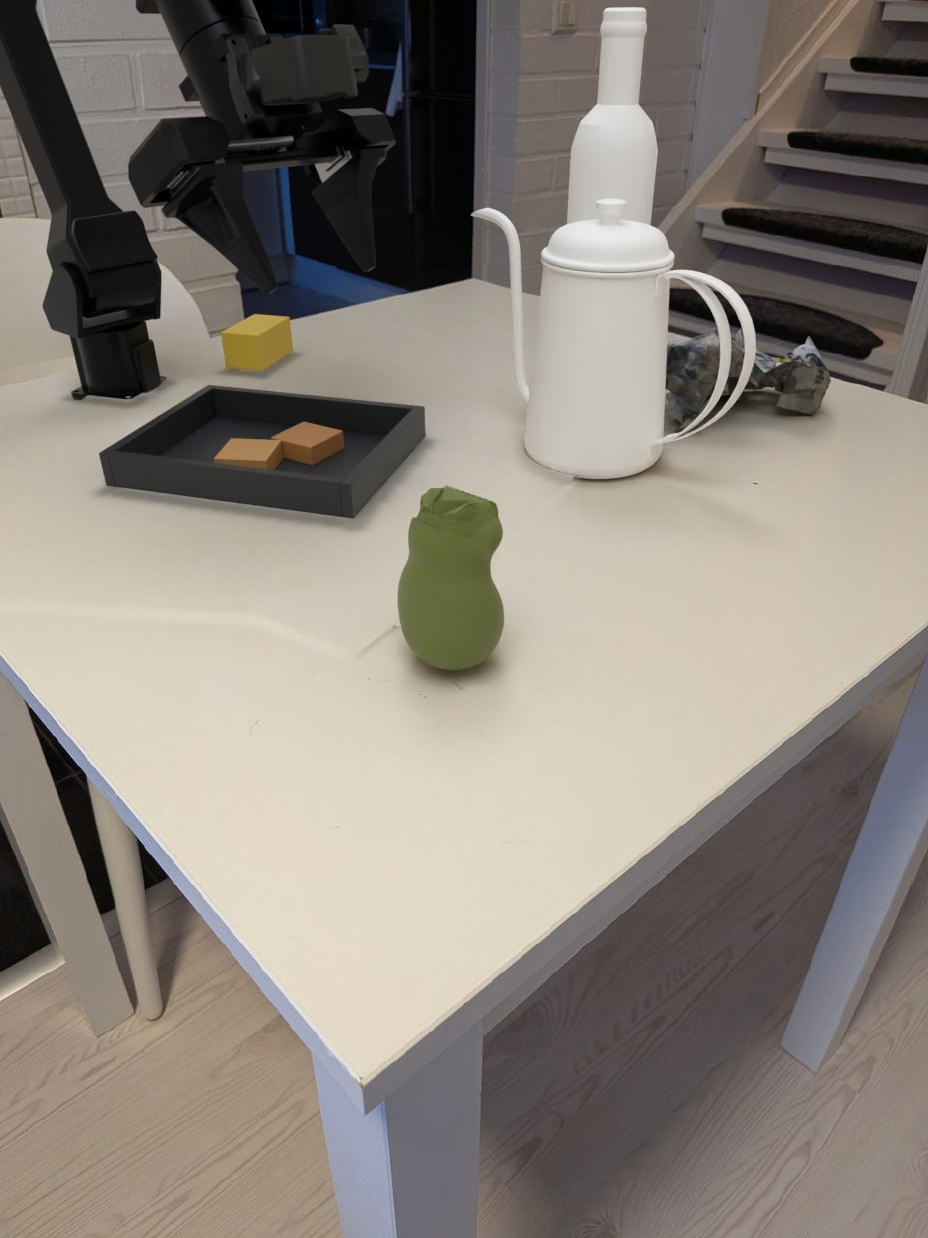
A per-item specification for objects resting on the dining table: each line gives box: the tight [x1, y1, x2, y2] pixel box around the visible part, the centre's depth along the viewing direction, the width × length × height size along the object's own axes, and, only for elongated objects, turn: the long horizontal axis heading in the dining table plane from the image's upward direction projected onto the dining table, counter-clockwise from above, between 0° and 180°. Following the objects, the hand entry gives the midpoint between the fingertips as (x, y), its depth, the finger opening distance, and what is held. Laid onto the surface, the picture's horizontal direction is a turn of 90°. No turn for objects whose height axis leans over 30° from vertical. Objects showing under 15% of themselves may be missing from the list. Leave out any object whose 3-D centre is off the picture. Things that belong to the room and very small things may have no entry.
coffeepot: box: [470, 198, 757, 480], centre depth 68 cm, size 11×25×19 cm, turn 47°
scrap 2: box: [271, 422, 344, 465], centre depth 72 cm, size 4×4×2 cm
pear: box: [396, 485, 505, 671], centre depth 47 cm, size 6×5×10 cm
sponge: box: [220, 313, 294, 372], centre depth 92 cm, size 4×7×4 cm, turn 163°
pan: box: [98, 384, 426, 519], centre depth 71 cm, size 20×16×3 cm
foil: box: [664, 326, 832, 432], centre depth 79 cm, size 12×11×15 cm
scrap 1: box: [214, 438, 283, 470], centre depth 69 cm, size 4×4×2 cm
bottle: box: [566, 6, 659, 225], centre depth 84 cm, size 8×8×30 cm
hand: (323, 279), depth 62 cm, fingers open, 9 cm apart
